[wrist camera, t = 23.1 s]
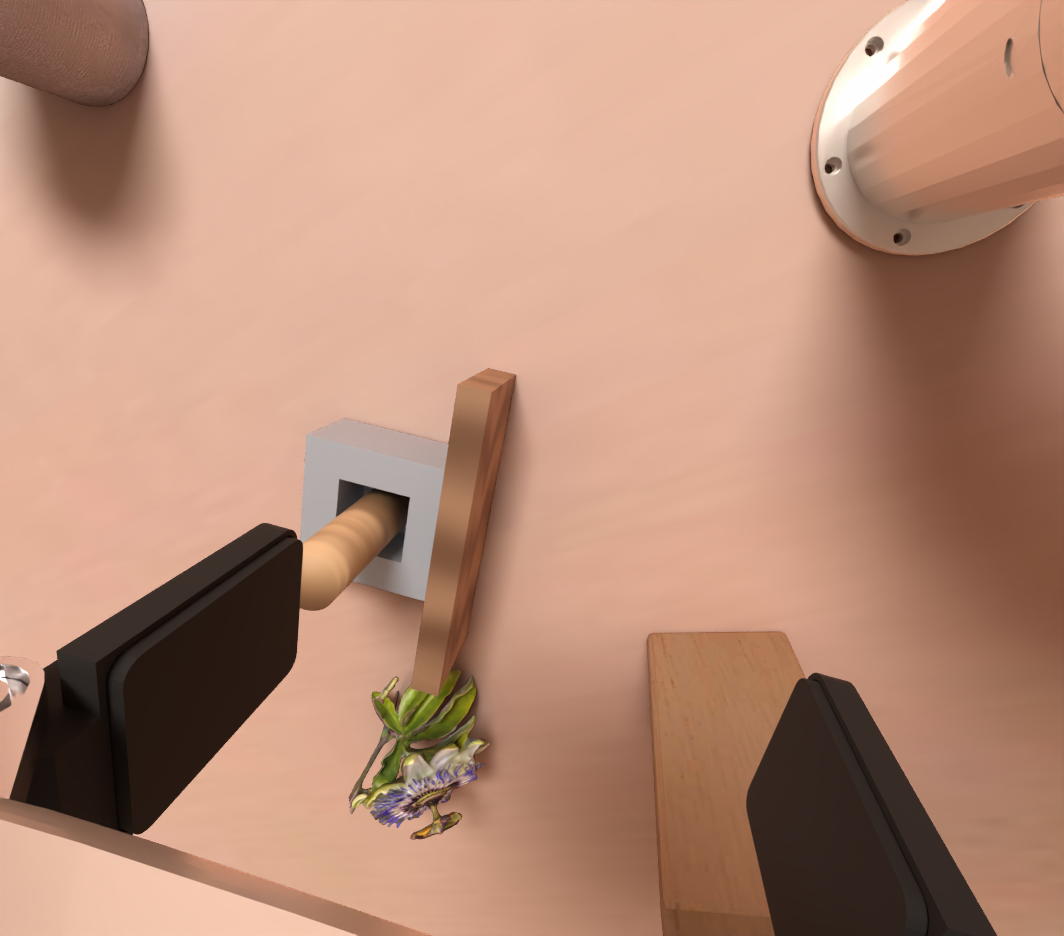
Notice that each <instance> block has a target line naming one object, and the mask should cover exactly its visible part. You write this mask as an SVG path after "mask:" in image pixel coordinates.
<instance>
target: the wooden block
mask: <svg viewBox="0 0 1064 936" xmlns="http://www.w3.org/2000/svg"><path fill="white" fill-rule="evenodd" d="M647 652H648V671H649V691H650V711H651V730H652V750H653V770H654V789H655V809H656V829H657V848H658V868H659V888H660V906H661V918H662V929H663V936H775V935H774V930H773V926H772V921H771V917H770V912H769V908H768V904H767V899H766V895H765V890H764V886H763V881H762V877H761V873H760V868H759V864H758V859H757V855H756V851H755V846H754V842H753V837H752V833H751V828H750V824H749V820H748V815H747V809H746V798H747V792H748V789H749V786H750V784H751V782H752V779H753V777H754V775H755V773H756V771H757V768H758V766H759V764H760V762H761V760H762V757H763V755H764V753H765V751H766V749H767V746H768V744H769V742H770V740H771V738H772V735H773V733H774V731H775V729H776V727H777V724H778V722H779V720H780V718H781V716H782V713H783V711H784V709H785V707H786V705H787V702H788V700H789V698H790V696H791V694H792V691H793V689H794V687H795V685H796V683H797V681H798V680H799V679H801V678H805V679H806V677H805V675H804V673H803V671H802V668H801V666H800V664H799V662H798V660H797V658H796V655H795V653H794V651H793V649H792V647H791V645H790V642H789V640H788V638H787V636H786V634H784V633H783V632H706V633H652V634H649V636H648V639H647Z"/></svg>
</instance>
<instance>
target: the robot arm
mask: <svg viewBox="0 0 1064 936" xmlns="http://www.w3.org/2000/svg"><path fill="white" fill-rule="evenodd" d="M865 49H870V50H871V51H872V56H871V57H870V56H868V55H867V54H866V52H865ZM826 165H831V167H832V172H831V173H830V174H827V173H826V171H825V166H826ZM811 170H812V174H813V178H814V183H815V187H816V191H817V193H818V195H819V198H820V200H821V202H822V204H823V206H824V208H825V210H826V212H827V213H828V214H829V216H830V217H831V218H832V219H833V221H834V222H835V223H836V225H837V226H838V227H839V228H840V229H841V230H843V231H844V232H845V233H846V234H848V235H849V236H850V237H851V238H853V239H854V240H855V241H857V242H859V243H861V244H863V245H866V246H868V247H870V248H872V249H874V250H878V251H882V252H886V253H890V254H894V255H915V256H917V255H926V254H936V253H941V252H945V251H949V250H954V249H958V248H962V247H964V246H967V245H969V244H972V243H974V242H977V241H979V240H982V239H984V238H986V237H988V236H990V235H991V234H993V233H995V232H996V231H998V230H1000V229H1002V228H1003V227H1005V226H1007V225H1008V224H1010V223H1011V222H1012V221H1014V220H1015V219H1016V218H1017V217H1019V216H1020V215H1021V214H1023V213H1024V212H1025V211H1026V210H1028V209H1029V208H1030V207H1031V206H1032V205H1033V204H1034V203H1035V202H1036V201H1040V200H1044V199H1049V198H1053V197H1058V196H1062V195H1064V0H906V1H905V2H903V3H902V4H900V5H899V6H897V7H895V8H894V9H892V10H891V11H890V12H888V13H887V14H886V15H885V16H884V17H883V18H882V19H880V20H879V21H878V22H877V23H876V24H875V25H874V26H872V27H871V28H870V29H869V30H868V31H867V32H866V33H865V34H864V35H863V37H862V38H861V39H860V40H859V41H858V42H857V43H856V44H855V45H854V46H853V48H852V49H851V50H850V52H849V53H848V54H847V56H846V57H845V58H844V60H843V61H842V63H841V64H840V65H839V67H838V68H837V70H836V71H835V73H834V75H833V77H832V79H831V81H830V83H829V84H828V86H827V88H826V90H825V92H824V94H823V96H822V99H821V102H820V106H819V109H818V112H817V115H816V118H815V121H814V127H813V134H812V141H811ZM895 234H897V235H898V236H899V240H898V242H897V243H894V241H893V237H894V235H895ZM302 562H303V543H302V541H301V540H298V539H297V535H296V533H295V532H294V531H293V530H290V529H287V528H283V527H279V526H276V525H272V524H268V523H262V524H260V525H258V526H256V527H255V528H253V529H252V530H250V531H248V532H247V533H245V534H244V535H242V536H240V537H239V538H237V539H236V540H234V541H232V542H231V543H229V544H228V545H226V546H224V547H223V548H221V549H220V550H218V551H216V552H215V553H213V554H211V555H210V556H208V557H207V558H205V559H203V560H202V561H200V562H199V563H197V564H195V565H194V566H192V567H191V568H189V569H187V570H186V571H184V572H183V573H181V574H179V575H178V576H176V577H175V578H173V579H171V580H170V581H168V582H167V583H165V584H163V585H162V586H160V587H159V588H157V589H155V590H154V591H152V592H151V593H149V594H147V595H146V596H144V597H142V598H141V599H139V600H138V601H136V602H134V603H133V604H131V605H130V606H128V607H126V608H125V609H123V610H122V611H120V612H118V613H117V614H115V615H114V616H112V617H110V618H109V619H107V620H106V621H104V622H102V623H101V624H99V625H98V626H96V627H94V628H93V629H91V630H90V631H88V632H86V633H85V634H83V635H82V636H80V637H78V638H77V639H75V640H73V641H72V642H70V643H69V644H67V645H65V646H64V647H62V648H61V649H59V650H57V659H58V660H56V661H55V662H53V663H52V664H50V665H48V666H47V667H45V668H44V669H42V668H41V667H40V666H39V664H38V663H36V662H33V661H31V660H28V659H26V658H20V657H11V656H2V657H0V936H431V935H428V934H425V933H422V932H419V931H416V930H413V929H410V928H408V927H405V926H402V925H399V924H396V923H393V922H390V921H387V920H384V919H381V918H378V917H375V916H372V915H369V914H366V913H364V912H361V911H358V910H355V909H352V908H349V907H346V906H343V905H340V904H337V903H334V902H331V901H328V900H325V899H322V898H319V897H316V896H313V895H310V894H308V893H305V892H302V891H299V890H296V889H293V888H290V887H287V886H284V885H281V884H278V883H275V882H272V881H269V880H266V879H263V878H260V877H257V876H254V875H251V874H248V873H245V872H242V871H239V870H236V869H233V868H230V867H227V866H224V865H221V864H218V863H215V862H212V861H209V860H206V859H203V858H200V857H197V856H194V855H191V854H188V853H185V852H182V851H179V850H176V849H173V848H170V847H167V846H164V845H161V844H158V843H155V842H152V841H149V840H146V839H143V838H139V837H136V836H133V833H134V834H141V833H143V832H144V831H146V830H147V829H148V828H149V827H150V826H151V825H152V824H153V823H154V822H155V821H156V820H157V819H158V818H159V817H160V816H161V814H162V813H163V812H164V811H165V810H166V809H167V808H168V807H169V806H170V804H171V803H172V802H173V801H174V800H175V799H176V798H177V797H178V796H179V794H180V793H181V792H182V791H183V790H184V789H185V788H186V787H187V786H188V784H189V783H190V782H191V781H192V780H193V779H194V778H195V777H196V776H197V774H198V773H199V772H200V771H201V770H202V769H203V768H204V767H205V765H206V764H207V763H208V762H209V761H210V760H211V759H212V758H213V757H214V755H215V754H216V753H217V752H218V751H219V750H220V749H221V748H222V747H223V745H224V744H225V743H226V742H227V741H228V740H229V739H230V738H231V737H232V735H233V734H234V733H235V732H236V731H237V730H238V729H239V728H240V727H241V725H242V724H243V723H244V722H245V721H246V720H247V719H248V718H249V717H250V715H251V714H252V713H253V712H254V711H255V710H256V709H257V708H258V707H259V705H260V704H261V703H262V702H263V701H264V700H265V699H266V698H267V697H268V695H269V694H270V693H271V692H272V691H273V690H274V689H275V688H276V687H277V685H278V684H279V683H280V682H281V681H282V680H283V679H284V678H285V677H286V675H287V674H288V673H289V672H290V670H291V668H292V667H293V664H294V662H295V659H296V654H297V641H298V625H299V609H300V593H301V578H302ZM746 809H747V815H748V820H749V824H750V828H751V833H752V837H753V842H754V846H755V851H756V855H757V859H758V864H759V868H760V873H761V877H762V881H763V886H764V890H765V895H766V899H767V904H768V908H769V912H770V917H771V921H772V926H773V930H774V935H775V936H997V935H996V933H995V931H994V929H993V928H992V926H991V924H990V922H989V921H988V919H987V917H986V915H985V914H984V912H983V910H982V908H981V907H980V905H979V903H978V902H977V900H976V898H975V896H974V895H973V893H972V891H971V889H970V888H969V886H968V884H967V882H966V881H965V879H964V877H963V875H962V874H961V872H960V870H959V868H958V867H957V865H956V863H955V861H954V860H953V858H952V856H951V854H950V853H949V851H948V849H947V847H946V846H945V844H944V842H943V840H942V839H941V837H940V835H939V833H938V832H937V830H936V828H935V826H934V825H933V823H932V821H931V819H930V818H929V816H928V814H927V812H926V811H925V809H924V807H923V805H922V804H921V802H920V800H919V798H918V797H917V795H916V793H915V791H914V790H913V788H912V786H911V785H910V783H909V781H908V779H907V778H906V776H905V774H904V772H903V771H902V769H901V767H900V765H899V764H898V762H897V760H896V758H895V757H894V755H893V753H892V751H891V750H890V748H889V746H888V744H887V743H886V741H885V739H884V737H883V736H882V734H881V732H880V730H879V729H878V727H877V725H876V723H875V722H874V720H873V718H872V716H871V715H870V713H869V711H868V709H867V708H866V706H865V704H864V702H863V701H862V699H861V697H860V695H859V694H858V692H857V690H856V688H855V687H854V686H853V685H852V683H850V682H848V681H844V680H841V679H837V678H833V677H830V676H826V675H822V674H819V673H813V674H812V675H810V676H809V678H808V679H805V678H801V679H799V680H798V681H797V683H796V685H795V687H794V689H793V691H792V694H791V696H790V698H789V700H788V702H787V705H786V707H785V709H784V711H783V713H782V716H781V718H780V720H779V722H778V724H777V727H776V729H775V731H774V733H773V735H772V738H771V740H770V742H769V744H768V746H767V749H766V751H765V753H764V755H763V757H762V760H761V762H760V764H759V766H758V768H757V771H756V773H755V775H754V777H753V779H752V782H751V784H750V786H749V789H748V792H747V798H746Z"/></svg>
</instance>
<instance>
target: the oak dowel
mask: <svg viewBox="0 0 1064 936" xmlns="http://www.w3.org/2000/svg"><path fill="white" fill-rule="evenodd" d="M409 501H410V497H407V496H403V495H399V494H395V493H391V492H388V491H384V490H380V489H376V488H374V489H372V490H371V491H370V492H368V493H367V494H366V495H365V496H363V497H362V498H361V499H359V500H358V501H357V502H355V503H354V504H353V505H352V506H350V507H349V508H348V509H346V510H345V511H344V512H343V513H341V514H340V515H339V516H337V517H336V518H335V519H333V520H332V521H331V522H330V523H328V524H327V525H326V526H324V527H323V528H322V529H320V530H319V531H318V532H317V533H315V534H314V535H313V536H311V537H310V538H309V539H308V540H306V541H305V542H304V543H303V562H302V578H301V593H300V608H302V609H305V610H311V611H316V610H321V609H324V608H326V607H327V606H329V605H330V604H331V603H332V602H333V601H334V600H335V599H336V598H337V597H338V595H339V594H340V593H341V592H342V591H343V590H344V589H345V588H346V587H347V586H348V585H349V584H350V583H351V582H352V581H353V580H354V579H355V578H356V577H357V576H358V575H359V573H360V572H361V571H362V570H363V569H364V568H365V567H366V566H367V565H368V564H369V563H370V562H371V561H372V560H373V559H374V558H375V557H376V556H377V555H378V554H379V553H380V551H381V550H382V549H383V548H384V547H385V546H386V545H387V544H388V543H389V542H390V541H391V540H392V539H393V538H394V537H395V536H396V535H397V534H398V533H399V532H400V531H401V529H402V528H403V527H404V526H405V525H406V524H407V516H408V509H409Z"/></svg>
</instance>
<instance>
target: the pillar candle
mask: <svg viewBox="0 0 1064 936" xmlns="http://www.w3.org/2000/svg"><path fill="white" fill-rule="evenodd" d="M148 40H149V39H148V21H147V15H146V12H145V8H144V6H143V3H142V1H141V0H0V76H2V77H5V78H7V79H10V80H14V81H16V82H19V83H22V84H25V85H27V86H30V87H33V88H36V89H39V90H42V91H45V92H48V93H51V94H54V95H57V96H60V97H63V98H66V99H68V100H71V101H74V102H77V103H80V104H84V105H89V106H106V105H110V104H113V103H115V102H116V101H119V100H121V99H122V98H123V97H125V96H126V95H127V94H128V93H129V92H130V91H131V90H132V89H133V87H134V86H135V84H136V83H137V81H138V79H139V77H140V76H141V74H142V71H143V68H144V65H145V62H146V56H147V51H148V44H149V42H148Z"/></svg>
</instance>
